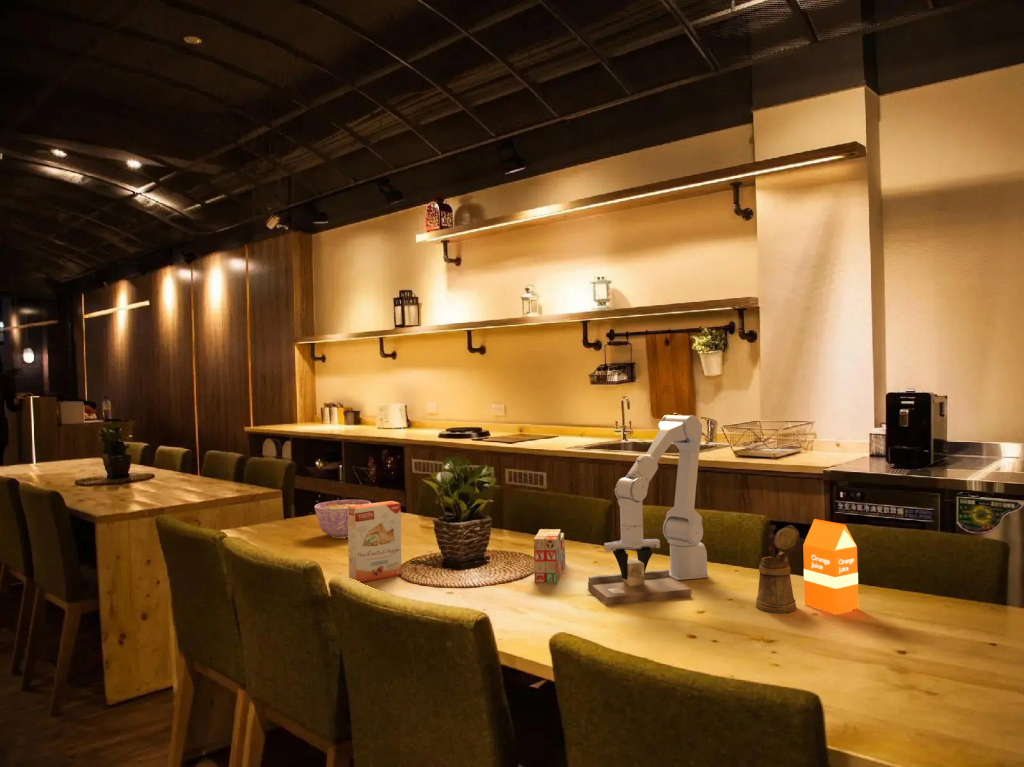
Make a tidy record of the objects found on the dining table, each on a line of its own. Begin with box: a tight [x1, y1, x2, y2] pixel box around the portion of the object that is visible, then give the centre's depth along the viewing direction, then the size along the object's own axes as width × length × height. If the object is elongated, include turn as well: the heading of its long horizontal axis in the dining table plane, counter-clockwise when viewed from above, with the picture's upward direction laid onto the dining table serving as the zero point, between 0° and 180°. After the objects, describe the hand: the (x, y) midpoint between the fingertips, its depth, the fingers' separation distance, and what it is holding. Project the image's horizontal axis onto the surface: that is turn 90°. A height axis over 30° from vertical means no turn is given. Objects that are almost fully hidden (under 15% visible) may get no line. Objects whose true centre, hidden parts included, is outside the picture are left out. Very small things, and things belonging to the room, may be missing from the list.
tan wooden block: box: [622, 558, 644, 586], centre depth 186 cm, size 4×5×6 cm
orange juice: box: [802, 518, 859, 614], centre depth 169 cm, size 8×9×20 cm
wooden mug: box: [755, 524, 801, 614], centre depth 172 cm, size 9×14×18 cm, turn 133°
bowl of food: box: [314, 499, 372, 537], centre depth 263 cm, size 20×20×12 cm
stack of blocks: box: [533, 528, 566, 584], centre depth 205 cm, size 21×6×12 cm, turn 170°
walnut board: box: [587, 569, 692, 606], centre depth 184 cm, size 22×14×4 cm, turn 103°
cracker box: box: [347, 500, 402, 583], centre depth 205 cm, size 14×6×21 cm, turn 125°
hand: (633, 577), depth 186 cm, fingers closed on tan wooden block, 4 cm apart
